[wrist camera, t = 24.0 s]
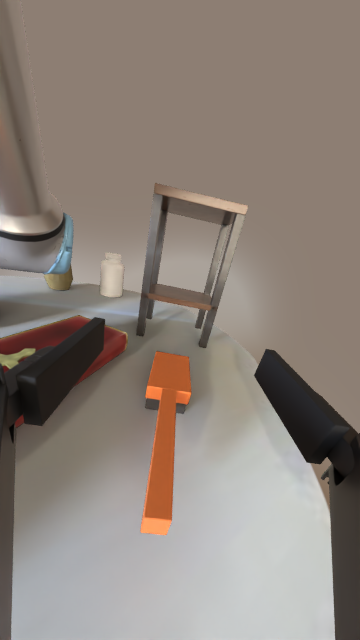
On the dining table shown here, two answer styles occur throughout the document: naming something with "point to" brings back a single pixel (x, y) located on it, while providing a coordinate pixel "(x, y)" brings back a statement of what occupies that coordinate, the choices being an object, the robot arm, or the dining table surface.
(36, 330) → the hardcover book
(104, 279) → the pill bottle
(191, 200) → the metal plant stand
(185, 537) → the dining table surface
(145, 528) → the brush
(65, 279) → the squeeze bottle
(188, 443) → the dining table surface
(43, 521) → the dining table surface
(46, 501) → the dining table surface
